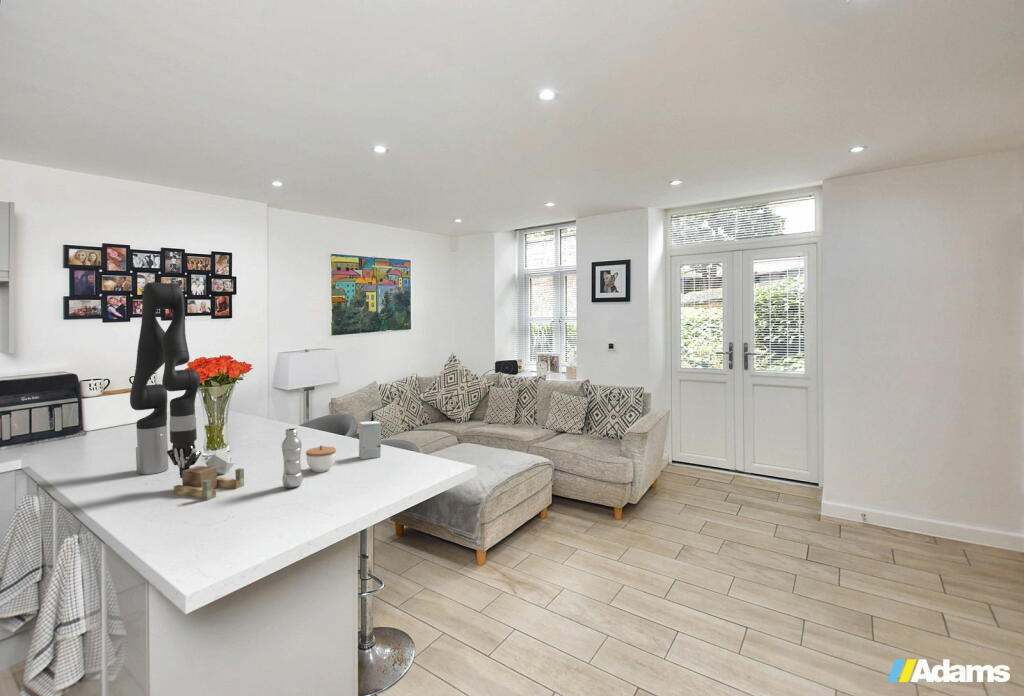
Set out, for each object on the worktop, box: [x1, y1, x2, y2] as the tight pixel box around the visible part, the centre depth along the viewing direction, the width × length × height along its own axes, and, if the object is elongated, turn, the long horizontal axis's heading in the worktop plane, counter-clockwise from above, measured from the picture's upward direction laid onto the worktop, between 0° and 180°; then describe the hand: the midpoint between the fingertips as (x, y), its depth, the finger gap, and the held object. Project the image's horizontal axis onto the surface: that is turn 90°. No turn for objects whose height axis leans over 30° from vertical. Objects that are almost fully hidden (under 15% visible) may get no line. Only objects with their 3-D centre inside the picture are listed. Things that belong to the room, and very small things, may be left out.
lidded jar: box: [305, 445, 337, 473], centre depth 182 cm, size 11×11×9 cm
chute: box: [173, 467, 245, 501], centre depth 160 cm, size 16×14×6 cm
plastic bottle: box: [281, 427, 303, 489], centre depth 163 cm, size 6×7×20 cm
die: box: [205, 451, 236, 475], centre depth 178 cm, size 8×9×10 cm
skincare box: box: [358, 420, 382, 460], centre depth 200 cm, size 8×6×15 cm
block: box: [181, 465, 218, 489], centre depth 160 cm, size 8×6×7 cm
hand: (184, 477), depth 162 cm, fingers closed
